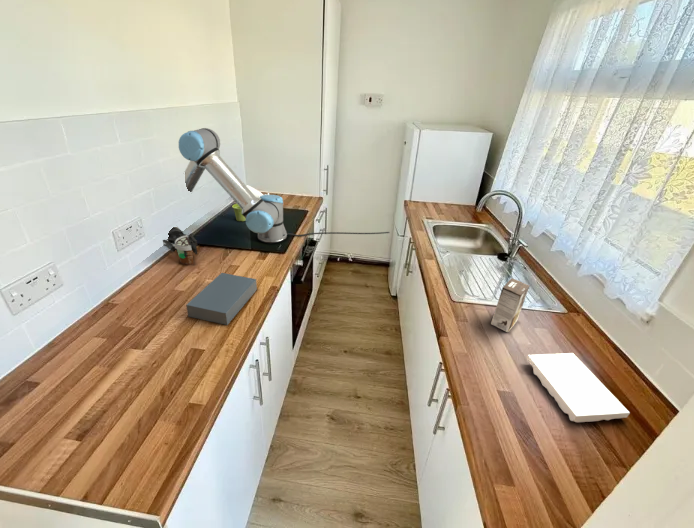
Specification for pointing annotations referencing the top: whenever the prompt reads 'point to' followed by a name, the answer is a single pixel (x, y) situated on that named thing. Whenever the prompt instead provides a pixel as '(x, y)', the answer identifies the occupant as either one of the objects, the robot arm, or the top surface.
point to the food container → (184, 245)
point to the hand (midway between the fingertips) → (190, 252)
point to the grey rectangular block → (222, 298)
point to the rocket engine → (255, 191)
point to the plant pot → (238, 213)
